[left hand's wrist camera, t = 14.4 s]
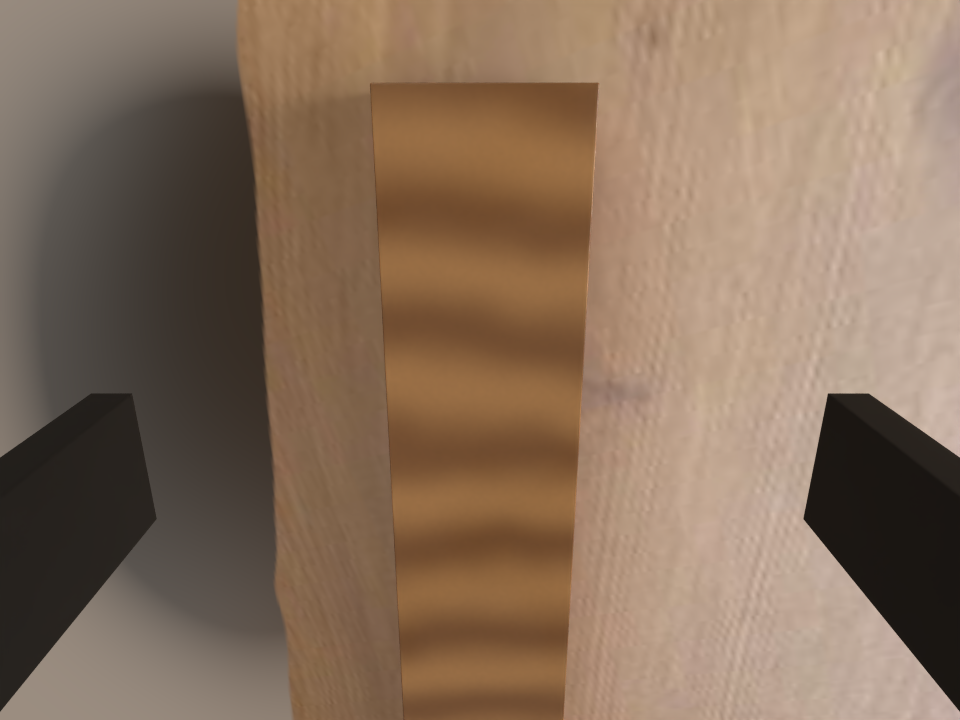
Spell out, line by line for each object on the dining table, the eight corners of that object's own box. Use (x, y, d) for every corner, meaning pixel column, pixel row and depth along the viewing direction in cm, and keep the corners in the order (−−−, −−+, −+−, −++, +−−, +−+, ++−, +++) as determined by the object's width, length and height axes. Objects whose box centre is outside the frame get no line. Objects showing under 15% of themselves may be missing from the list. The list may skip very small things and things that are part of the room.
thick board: (390, 90, 33) (369, 82, 27) (576, 90, 33) (599, 82, 27) (423, 852, 53) (415, 952, 46) (541, 852, 53) (550, 952, 46)
